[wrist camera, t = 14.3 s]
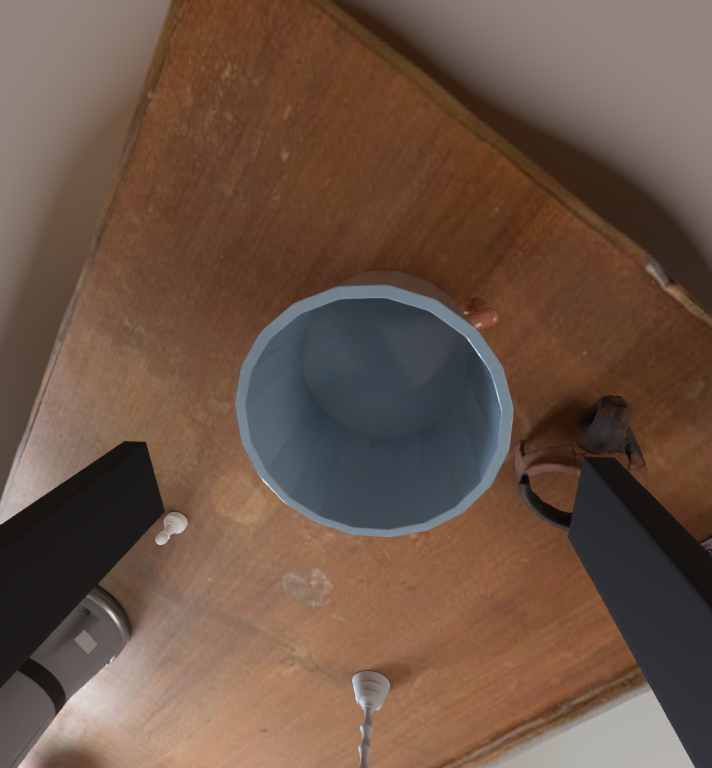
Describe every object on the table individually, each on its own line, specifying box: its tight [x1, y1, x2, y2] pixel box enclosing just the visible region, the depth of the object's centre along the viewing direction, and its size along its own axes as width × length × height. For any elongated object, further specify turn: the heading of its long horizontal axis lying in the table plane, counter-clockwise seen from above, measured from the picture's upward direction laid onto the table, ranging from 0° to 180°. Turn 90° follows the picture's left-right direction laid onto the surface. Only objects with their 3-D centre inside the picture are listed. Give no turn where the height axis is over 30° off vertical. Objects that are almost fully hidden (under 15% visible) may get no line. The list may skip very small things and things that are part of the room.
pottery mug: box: [514, 395, 647, 532], centre depth 30 cm, size 12×10×8 cm
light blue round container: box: [235, 270, 514, 537], centre depth 19 cm, size 11×11×9 cm
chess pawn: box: [155, 512, 188, 545], centre depth 41 cm, size 3×3×4 cm
